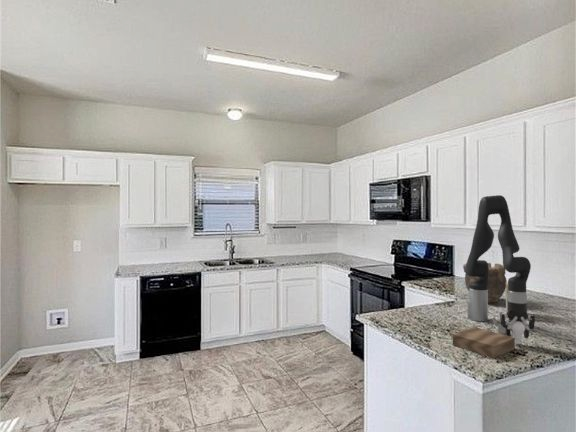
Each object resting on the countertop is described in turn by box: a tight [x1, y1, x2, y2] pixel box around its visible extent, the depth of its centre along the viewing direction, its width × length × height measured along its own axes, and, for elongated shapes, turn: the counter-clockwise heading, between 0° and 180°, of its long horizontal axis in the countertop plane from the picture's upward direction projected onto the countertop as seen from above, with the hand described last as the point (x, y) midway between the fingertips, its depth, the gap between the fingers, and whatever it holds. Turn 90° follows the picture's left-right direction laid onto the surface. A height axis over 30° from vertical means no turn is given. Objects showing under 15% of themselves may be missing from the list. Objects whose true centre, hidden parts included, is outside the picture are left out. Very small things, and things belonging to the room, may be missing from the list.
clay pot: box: [462, 262, 508, 304], centre depth 238 cm, size 26×26×25 cm
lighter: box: [490, 315, 506, 335], centre depth 176 cm, size 7×2×8 cm, turn 60°
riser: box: [452, 326, 516, 359], centre depth 158 cm, size 18×18×5 cm
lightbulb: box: [510, 321, 525, 345], centre depth 161 cm, size 6×6×11 cm
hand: (517, 337), depth 161 cm, fingers open, 6 cm apart
